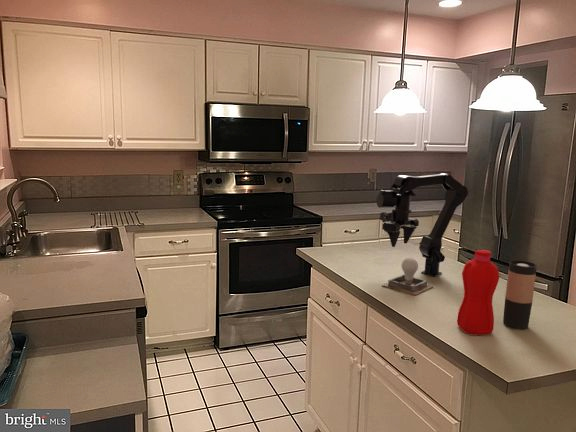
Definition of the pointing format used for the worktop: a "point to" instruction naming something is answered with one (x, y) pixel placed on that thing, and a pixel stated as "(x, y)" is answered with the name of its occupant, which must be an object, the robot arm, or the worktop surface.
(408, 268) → the lightbulb
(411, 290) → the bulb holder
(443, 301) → the worktop surface
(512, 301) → the travel mug
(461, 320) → the water bottle
